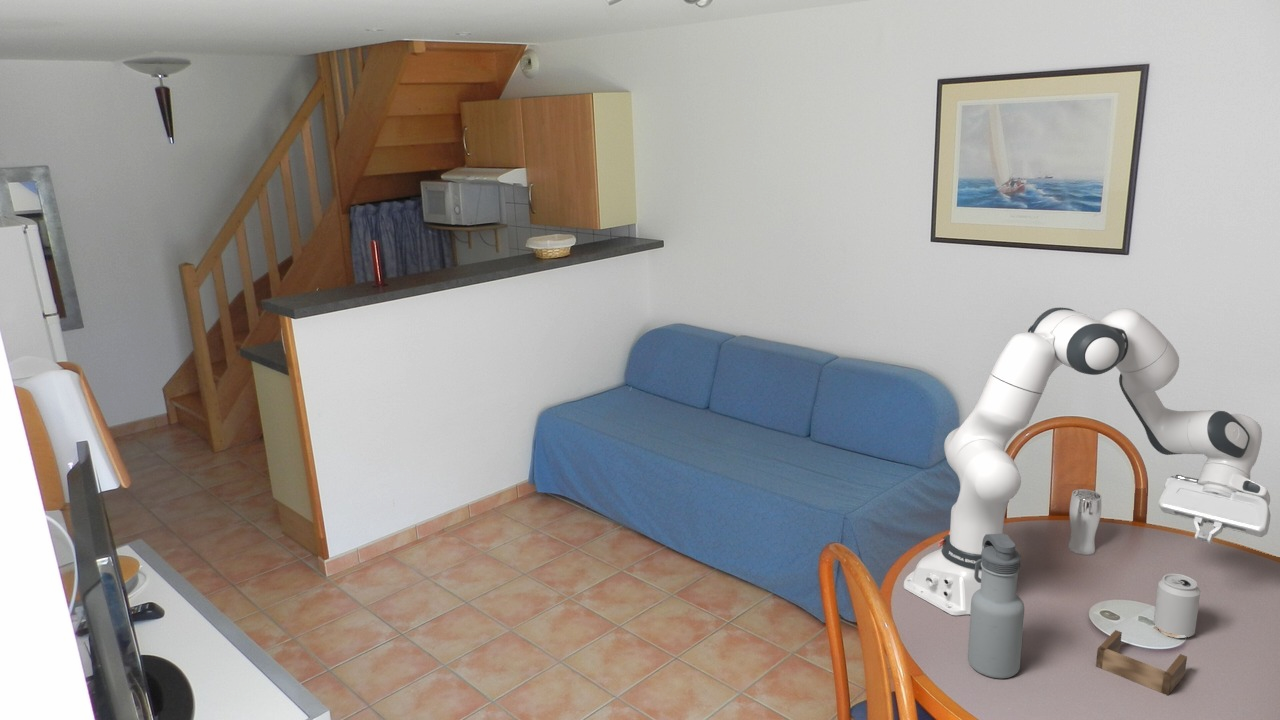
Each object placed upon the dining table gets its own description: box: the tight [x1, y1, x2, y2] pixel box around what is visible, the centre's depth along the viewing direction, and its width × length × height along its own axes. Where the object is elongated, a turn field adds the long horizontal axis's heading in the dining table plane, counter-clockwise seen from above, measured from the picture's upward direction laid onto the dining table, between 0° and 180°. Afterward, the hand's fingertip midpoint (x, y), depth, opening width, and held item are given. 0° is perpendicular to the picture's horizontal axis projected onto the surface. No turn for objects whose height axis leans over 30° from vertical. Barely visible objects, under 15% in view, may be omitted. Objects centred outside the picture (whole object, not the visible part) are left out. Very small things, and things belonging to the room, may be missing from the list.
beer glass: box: [1067, 488, 1102, 556], centre depth 213 cm, size 7×7×15 cm
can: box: [1153, 573, 1201, 638], centre depth 179 cm, size 8×8×12 cm
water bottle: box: [967, 533, 1025, 679], centre depth 169 cm, size 10×10×28 cm
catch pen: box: [1095, 629, 1188, 696], centre depth 168 cm, size 13×9×4 cm
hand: (1202, 540), depth 184 cm, fingers closed
